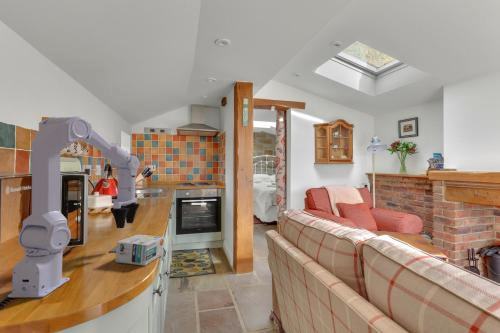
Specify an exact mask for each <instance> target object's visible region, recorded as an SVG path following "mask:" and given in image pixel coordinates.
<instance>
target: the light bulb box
mask: <svg viewBox="0 0 500 333" xmlns="http://www.w3.org/2000/svg"><path fill="white" fill-rule="evenodd" d="M164 240H165V236H155V235H146V234H145V235H144V234H138V233H137V234H135V235H132V236H130V237H127V238H124V239H121V240H118V241H117V242H116V246H117V249H116V252H115V262H116V263H120V264H129V265H136V266H144V267H146V266H147V265H149V264H151V263H152V262H154V261H155V260H156V259H158V258H160V257H162V256H163V255H164V244H165V243H164V242H165V241H164Z"/></svg>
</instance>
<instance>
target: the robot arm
mask: <svg viewBox="0 0 500 333" xmlns="http://www.w3.org/2000/svg"><path fill="white" fill-rule="evenodd" d="M81 141H83V142H85V143H87V144H88V145H90V146H92V148H95V149H97V150H98V151H101V156H102V157H103V158H104V159H106V160H107V161H109V162H110V163H112V164H113V165H114V168H115V169H116V170H118V171H117V194H116V195H117V197H116V198H117V199H114V200H113V207H112V206H111V207H110V212H111V214H112V216H113V218H114V221H115V225H116V226H115V227H116V229H124V228H125V225H126V224H134V221H135V219H136V218H135V217H136V214H137V210H138V209H139V207H140V206H141V204H140V203H138V198H137V197H136V179H137V178H136V176H137V175H138V170H139V169H140V164H141V163H140V160H139V158H138V157H137V156H136V155H134V154H130V153H129V152H128V151H127V150H125V149H123V148H122V147H121V146H120V144H119V143H116V142H111V143H110V142H109V141H107V140H106V139H105V138H104V137H103V136H101V134H99V133H98V132H97V131H96V130H95V129H93V126H92V123H90V122H88V121H87V119H85V118H83V117H81V116H66V117H65V116H64V117H63V116H62V117H55V116H51V117H47V118H45V119H44V120H42V121H39V122H38V131H37V132H36V134H35V136H34V138H33V140H32V144H31V214H30V215H29V216H27V217H26V218H24V220H23V221H22V227H21V230H20V232H19V233H18V237H17V238H18V240H17V241H18V244H19V246H20V247H22V248H23V249H24V250H23V252H24V253H25V256H24V257H23V258H22V259H21V260H19V262H17V263H16V264H15V265H14V267H13V269H12V280H11V282H12V284H11V293H10V294H8V295H7V298H44V297H46V296H48V295H49V294H51V293H52V292H53V291H55V290H57V289H58V288H59V287H61V286H63V285H64V284H65V283H67V282H68V281H70V278H71V277H63V255H64V254H63V252H64V251H65V249H66V247H67V246H68V245H69V243H70V241H71V237H72V233H71V232H72V231H71V230H70V228H69V225H68V219H67V218H66V216H64V214H62V212H61V152H62V151H63V150H64V149H66V148H67V147H68V146H70V145H71V144H75V143H77V142H81Z"/></svg>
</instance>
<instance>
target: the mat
mask: <svg viewBox="0 0 500 333" xmlns="http://www.w3.org/2000/svg"><path fill="white" fill-rule="evenodd" d="M116 249H117V245H116V246H115V247H113V248H112V249H110V250H108V253H116Z"/></svg>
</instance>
